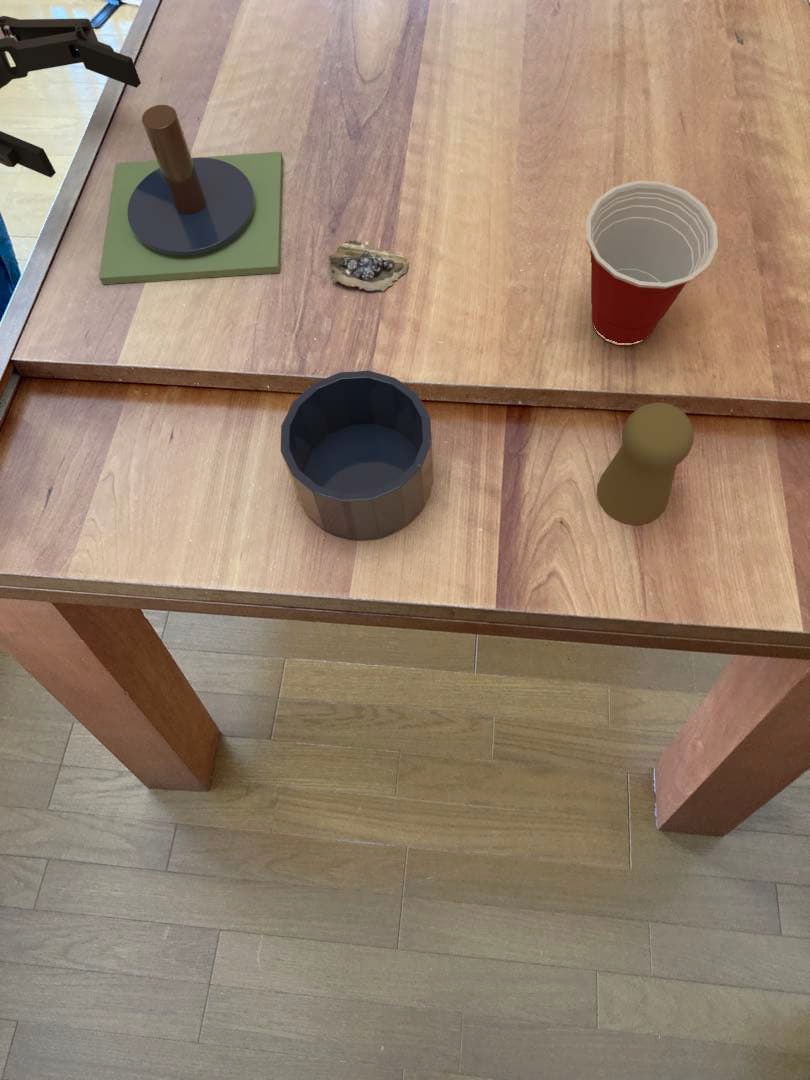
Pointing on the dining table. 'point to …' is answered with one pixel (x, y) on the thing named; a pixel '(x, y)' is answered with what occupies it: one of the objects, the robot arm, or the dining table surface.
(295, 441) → the pot
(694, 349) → the dining table surface
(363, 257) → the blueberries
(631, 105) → the dining table surface
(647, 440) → the pepper shaker
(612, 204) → the plastic cup
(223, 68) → the dining table surface
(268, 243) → the mat
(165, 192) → the lid
